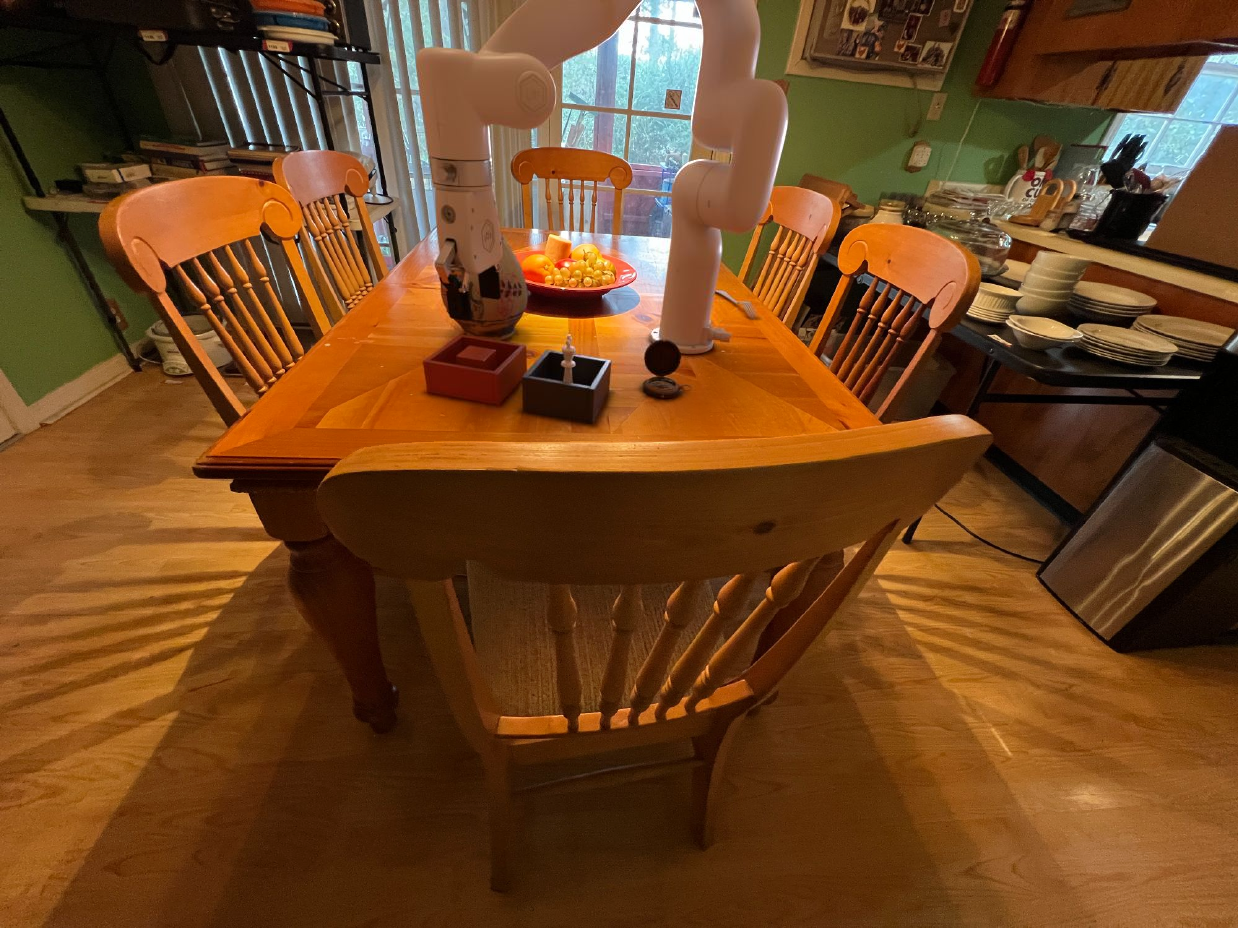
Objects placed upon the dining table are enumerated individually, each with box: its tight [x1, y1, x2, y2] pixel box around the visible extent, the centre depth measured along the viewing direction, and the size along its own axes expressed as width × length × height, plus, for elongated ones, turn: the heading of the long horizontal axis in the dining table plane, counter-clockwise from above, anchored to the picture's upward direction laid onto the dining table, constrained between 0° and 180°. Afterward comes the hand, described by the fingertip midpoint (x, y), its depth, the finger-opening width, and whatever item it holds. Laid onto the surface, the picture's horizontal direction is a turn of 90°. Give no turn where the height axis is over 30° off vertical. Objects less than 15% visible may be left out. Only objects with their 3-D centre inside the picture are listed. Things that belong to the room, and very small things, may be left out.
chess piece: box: [561, 334, 577, 383], centre depth 74 cm, size 5×5×10 cm
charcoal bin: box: [521, 349, 612, 425], centre depth 76 cm, size 11×11×6 cm
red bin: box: [422, 333, 528, 406], centre depth 79 cm, size 12×12×5 cm
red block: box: [456, 346, 497, 371], centre depth 79 cm, size 4×4×4 cm
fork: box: [715, 289, 758, 319], centre depth 126 cm, size 3×21×3 cm, turn 15°
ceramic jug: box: [440, 234, 529, 341], centre depth 88 cm, size 17×15×30 cm
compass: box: [642, 339, 692, 399], centre depth 82 cm, size 8×8×7 cm
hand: (476, 308), depth 74 cm, fingers open, 9 cm apart
